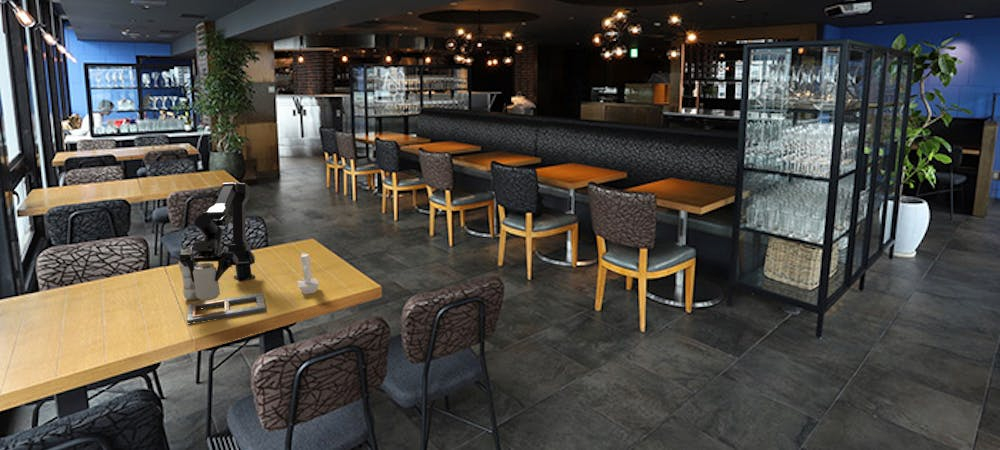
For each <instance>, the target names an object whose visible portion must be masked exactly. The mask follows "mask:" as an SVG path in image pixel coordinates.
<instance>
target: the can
mask: <svg viewBox="0 0 1000 450" xmlns="http://www.w3.org/2000/svg"><path fill="white" fill-rule="evenodd" d="M216 272H217V267H216V266H215V265H214V264H213V262H212V263H211V262H203V263H200V264H199V263H198V265H197V266H195V267H194V271H193V276H194V282H195V288H196V295H197V298H198V299H199V300H200V301H203V302H208V301H213V300H215V299H217V298H218V297H219V296H220V295H221V293H220V291H221V290H220V285H219V280H218V281H215V276H216Z"/></svg>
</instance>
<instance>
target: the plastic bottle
mask: <svg viewBox="0 0 1000 450" xmlns="http://www.w3.org/2000/svg"><path fill="white" fill-rule="evenodd" d="M182 253H192V254H193V249H192V247H191V246H185V247H181V248H180V254H182ZM177 264H178V268H179V270H180V272H181V277H182V282H183V283H182V285H183V289H182V290H183V292H182V293H183V296H184V298H185V299H186V300H187V301H193V300H194V301H195V300H197V299H198V298H197V295H196V288H195V282H192V278H191V273H190V269H189V267H186V266H184V265H183V264H182V263H181V262H180V261H179V260H178V263H177ZM196 265H199V262H197V264H196Z"/></svg>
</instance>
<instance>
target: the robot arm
mask: <svg viewBox="0 0 1000 450" xmlns="http://www.w3.org/2000/svg"><path fill="white" fill-rule="evenodd" d="M250 193H251V188H250V185H248V184H247V183H246V182H233V181H231V182H224V183H222V185H221V191H220V193H219V195H218V198H217V200H216V202H215V204H214V205H212V206H211V207H209V208H208V210H207V211H202V213H201V215H199V216H197V217H196V218H195V219H194V225H195V228H196V229H197V230H198V231H199V232H200V233H201V234H202V235H204V237H203V240H201V241H195V242H194V252H197V254H198V255H199V256H195V255H194V254H193V252H192V253H182V254H181V253H180V254H179V256H178V259H177V261H178V262H179V261H180V262H181V263H182V264H183V265H184V266H186V267H189V269H190V273H191V278H192V282H194V276H193V271H194V267H195V266H197V265H196V264H197V262H198V263H201V262H202V263H211V262H212V263H213V262H217V267H216V270H217V272H216V276H215V281H218V282H219V280H220V279H221V277H222V276H223V275H224V274H225V272H226V271H227V270H228V269H229V268H232V267H233V266H234V267H235V273H236V275H234V276H233V278H234V279H236V280H238V281H240V282H243V281H244V280H250V279H253V278H255V277H256V275H255V274H253V273H252V268H251V267H252V265H253V264H255V263H256V257H255V255H254V253H253V252H252V250H251V246H250V244H249V243H248V242H247V240H246V237H247V236H246V204H247V202H248V201H249V199H250ZM231 205H232V206H231ZM230 207H232V208H231V211H232V241H231V243H230V244H228V246H227V248H228V249H227V250H228V251H224V252H221V255H220V251H221V250H222V245H221V244H222V239H223V237H224V236H225V232H224V230H223V229H222V227H225V226H227V225H228V223H229V221H230V219H231V218H230V214H229V213H228V212H229V209H230Z"/></svg>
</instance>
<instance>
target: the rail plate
mask: <svg viewBox="0 0 1000 450" xmlns="http://www.w3.org/2000/svg"><path fill="white" fill-rule="evenodd" d="M255 301H256V305H255V306H249V307H243V308H238V309H237V308H236V309H231V310H230V305H231V306H232V305H237V304H242V303H243V304H244V303H248V302H255ZM216 306H219V307H223V306H224V310H219V311H214V312H207V313H202V314H197V310H196V309H200V310H202V309H201V308H206V309H210V308H209V307H213V308H216ZM266 311H267V310H266V304H265V299H264V296H263V292H261V293H255V294H248V295H243V296H242V295H241V296H236V297H234V296H233V297H230V298H224V299H217V300H215V299H214V300H208V301H203V302H198V303H192V304H188V310H187V320H186V321H187V324H188V323H193V322H200V323H203V322H202V321H206V322H209V321H208V320H212V321H215V320H214V319H217V320H222V319H223V320H224V319H228V318H234V317H241V316H246V315H252V314H257V313H264V312H266Z"/></svg>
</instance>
